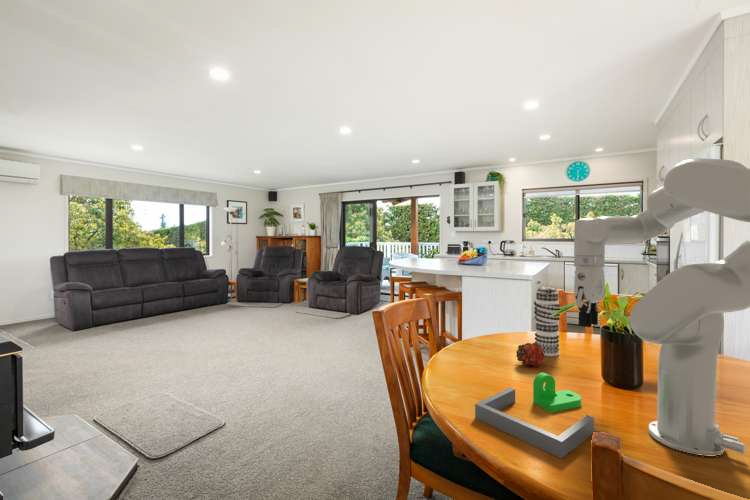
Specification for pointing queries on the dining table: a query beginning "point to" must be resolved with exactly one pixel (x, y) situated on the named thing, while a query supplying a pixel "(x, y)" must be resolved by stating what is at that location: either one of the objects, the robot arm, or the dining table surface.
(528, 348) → the dragon fruit
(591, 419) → the u-shaped bracket
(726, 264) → the robot arm
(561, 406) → the mechanical part
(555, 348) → the decorative candle
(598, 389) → the dining table surface
